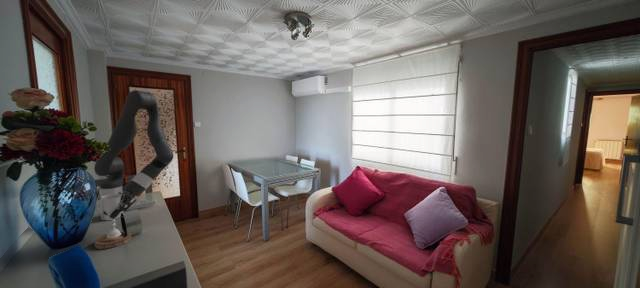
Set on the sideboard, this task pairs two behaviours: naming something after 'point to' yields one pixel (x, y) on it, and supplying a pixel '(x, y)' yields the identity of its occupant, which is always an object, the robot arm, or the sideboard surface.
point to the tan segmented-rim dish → (111, 241)
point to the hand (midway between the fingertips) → (108, 216)
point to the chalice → (109, 206)
